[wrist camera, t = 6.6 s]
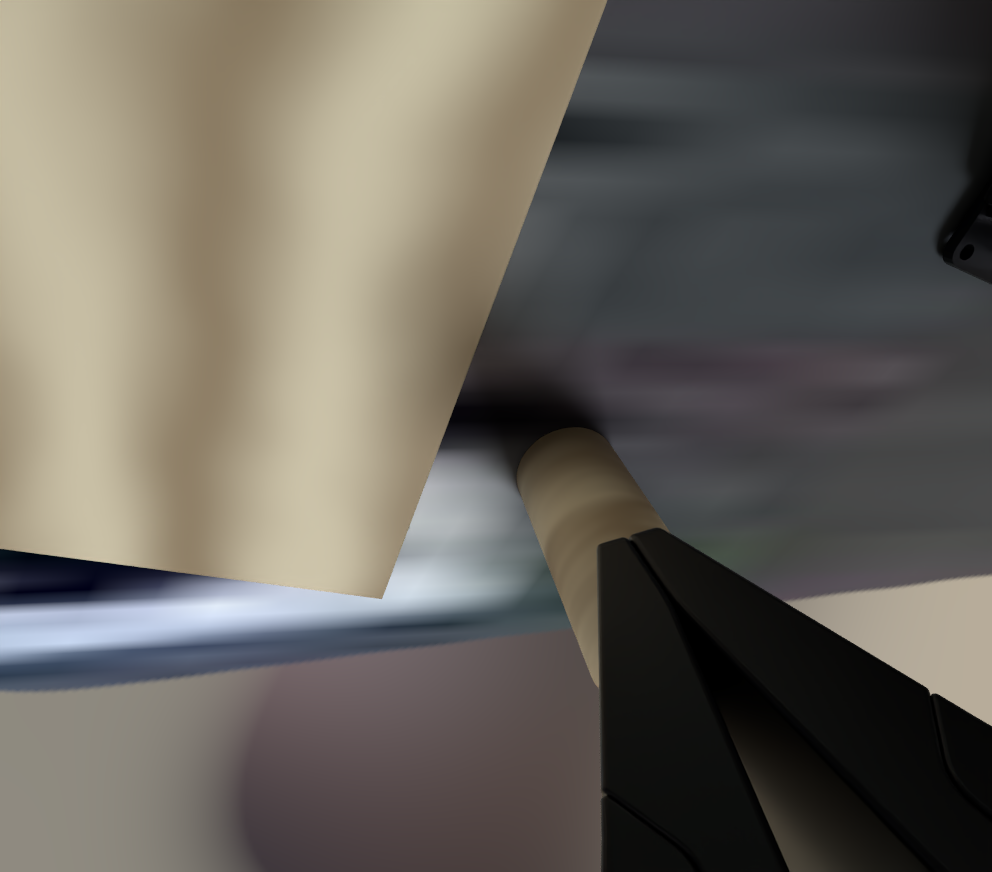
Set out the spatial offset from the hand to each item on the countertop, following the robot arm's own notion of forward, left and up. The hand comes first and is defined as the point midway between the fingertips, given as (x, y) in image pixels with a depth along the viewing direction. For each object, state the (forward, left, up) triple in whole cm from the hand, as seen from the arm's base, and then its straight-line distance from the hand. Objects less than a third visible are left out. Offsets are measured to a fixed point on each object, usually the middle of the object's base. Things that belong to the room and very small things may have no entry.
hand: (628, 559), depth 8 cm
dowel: (-5, +5, -12) cm, 14 cm away
